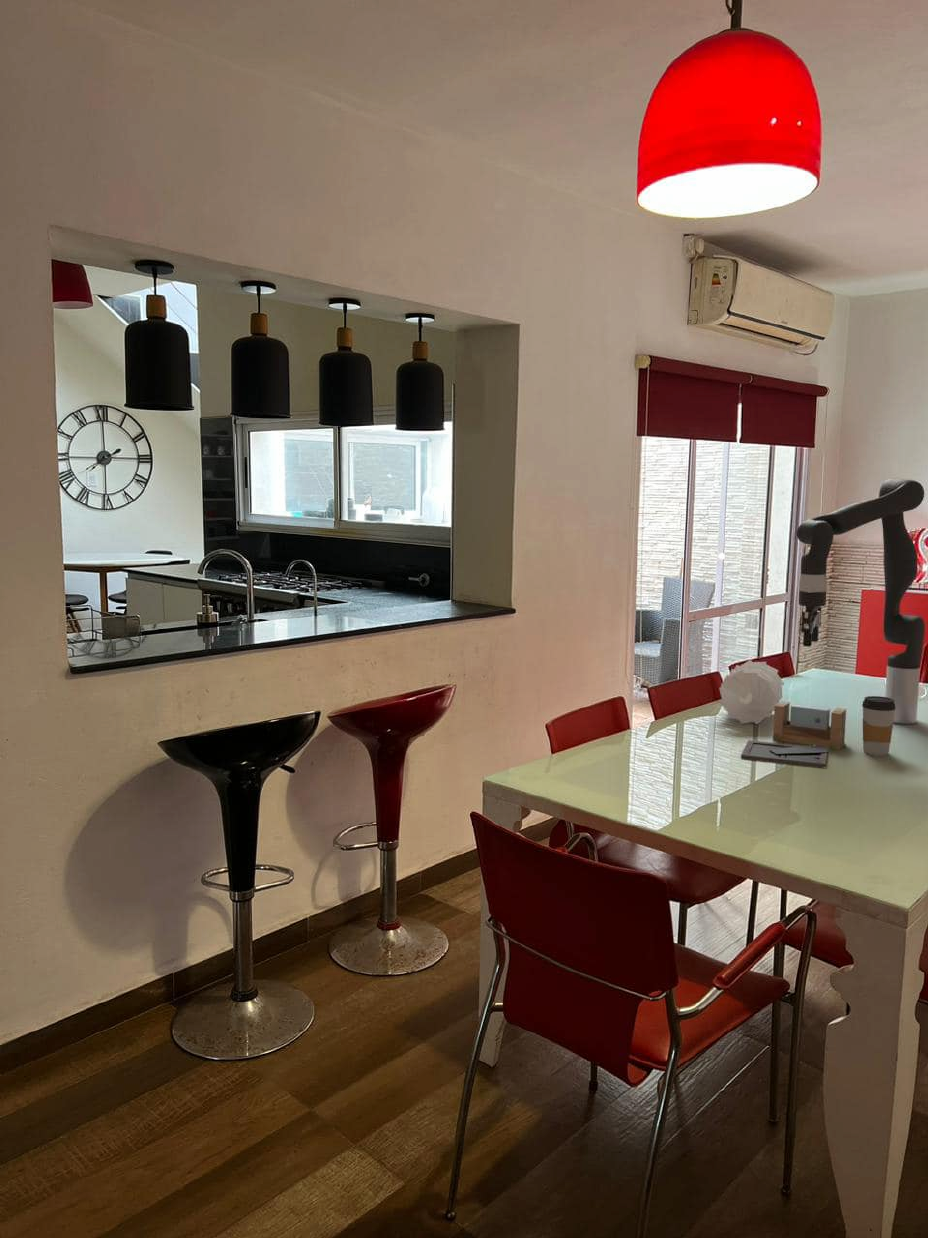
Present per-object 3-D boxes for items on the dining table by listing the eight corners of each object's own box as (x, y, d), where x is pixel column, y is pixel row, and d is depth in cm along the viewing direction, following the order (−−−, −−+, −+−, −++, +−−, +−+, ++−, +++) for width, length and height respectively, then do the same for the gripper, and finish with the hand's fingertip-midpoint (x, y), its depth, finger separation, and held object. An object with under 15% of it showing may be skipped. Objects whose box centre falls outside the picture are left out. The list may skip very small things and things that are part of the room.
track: (779, 734, 267) (780, 701, 265) (844, 743, 257) (846, 709, 255) (772, 739, 261) (774, 705, 259) (839, 749, 251) (841, 714, 250)
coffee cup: (896, 757, 243) (899, 703, 241) (863, 756, 244) (866, 701, 242) (888, 749, 251) (891, 696, 249) (856, 747, 252) (859, 695, 250)
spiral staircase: (768, 723, 296) (758, 737, 273) (719, 695, 302) (706, 707, 279) (796, 675, 291) (789, 686, 269) (746, 648, 297) (735, 656, 275)
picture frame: (827, 754, 248) (748, 745, 257) (828, 746, 248) (748, 738, 256) (825, 770, 234) (740, 760, 242) (825, 762, 234) (741, 753, 242)
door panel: (792, 731, 262) (793, 704, 261) (828, 736, 257) (830, 708, 256) (788, 734, 259) (790, 706, 258) (825, 739, 254) (826, 711, 253)
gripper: (805, 586, 272) (803, 639, 274) (793, 591, 260) (791, 646, 263) (831, 587, 268) (829, 641, 270) (820, 592, 256) (818, 649, 258)
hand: (810, 643), depth 266 cm, fingers open, 8 cm apart
